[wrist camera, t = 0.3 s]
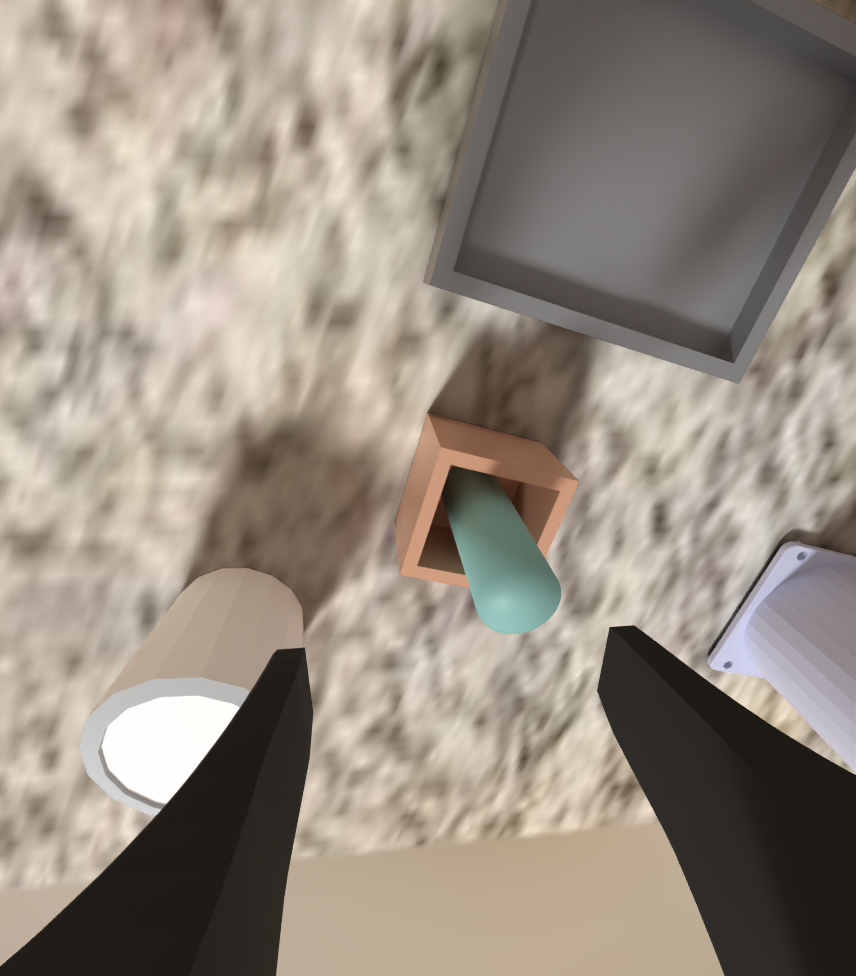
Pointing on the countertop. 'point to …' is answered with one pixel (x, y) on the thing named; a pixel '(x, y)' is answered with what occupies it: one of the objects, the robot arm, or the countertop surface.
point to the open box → (513, 460)
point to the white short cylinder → (187, 684)
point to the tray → (651, 169)
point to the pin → (498, 554)
